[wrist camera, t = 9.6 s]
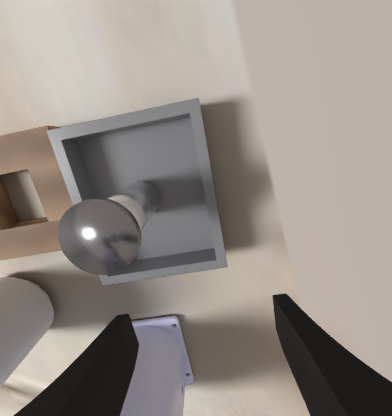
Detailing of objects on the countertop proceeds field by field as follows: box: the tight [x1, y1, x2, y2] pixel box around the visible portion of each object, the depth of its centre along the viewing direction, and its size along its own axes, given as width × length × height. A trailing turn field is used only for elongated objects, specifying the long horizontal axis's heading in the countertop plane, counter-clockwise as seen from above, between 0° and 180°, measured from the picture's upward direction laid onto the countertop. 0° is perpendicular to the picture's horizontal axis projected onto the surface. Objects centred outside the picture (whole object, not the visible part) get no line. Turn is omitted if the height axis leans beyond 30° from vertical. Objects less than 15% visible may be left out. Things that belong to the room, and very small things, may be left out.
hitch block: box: [0, 126, 73, 260], centre depth 19 cm, size 10×10×2 cm
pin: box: [58, 181, 161, 275], centre depth 15 cm, size 4×4×9 cm
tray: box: [47, 98, 228, 286], centre depth 18 cm, size 13×11×3 cm
